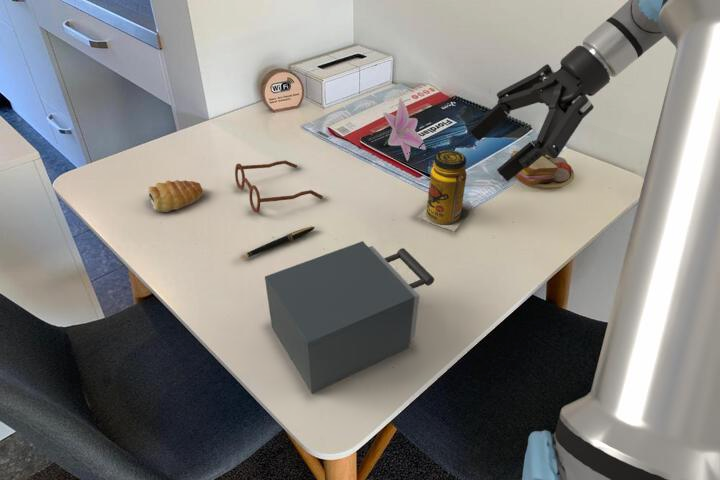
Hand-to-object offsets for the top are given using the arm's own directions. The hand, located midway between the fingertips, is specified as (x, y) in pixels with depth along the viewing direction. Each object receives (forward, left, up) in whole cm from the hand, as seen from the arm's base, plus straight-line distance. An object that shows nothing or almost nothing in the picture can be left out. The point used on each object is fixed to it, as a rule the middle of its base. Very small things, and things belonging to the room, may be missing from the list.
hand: (486, 154), depth 88 cm
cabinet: (-1, +39, -11) cm, 40 cm away
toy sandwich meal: (-3, -18, -12) cm, 22 cm away
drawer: (-3, +35, -11) cm, 37 cm away
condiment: (+4, +5, -12) cm, 13 cm away
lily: (+24, -8, -12) cm, 28 cm away
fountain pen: (+20, +31, -12) cm, 38 cm away
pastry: (+44, +35, -12) cm, 57 cm away
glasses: (+32, +20, -12) cm, 39 cm away
